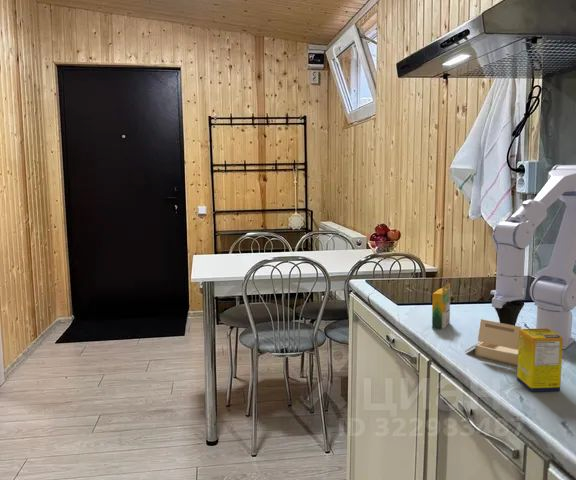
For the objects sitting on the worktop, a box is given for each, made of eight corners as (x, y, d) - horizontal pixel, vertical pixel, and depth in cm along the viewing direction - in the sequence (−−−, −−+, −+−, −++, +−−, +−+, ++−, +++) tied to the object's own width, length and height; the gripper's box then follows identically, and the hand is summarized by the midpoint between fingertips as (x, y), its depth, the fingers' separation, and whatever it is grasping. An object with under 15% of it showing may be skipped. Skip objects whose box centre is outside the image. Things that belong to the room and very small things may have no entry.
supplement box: (544, 379, 104) (547, 327, 102) (560, 391, 98) (564, 336, 96) (515, 379, 104) (518, 328, 102) (530, 392, 98) (533, 337, 96)
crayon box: (439, 321, 144) (440, 281, 143) (449, 322, 143) (451, 282, 141) (431, 328, 138) (432, 286, 137) (442, 329, 137) (443, 287, 135)
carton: (489, 338, 129) (490, 328, 129) (554, 352, 119) (554, 341, 118) (464, 353, 119) (464, 343, 118) (532, 370, 108) (533, 358, 108)
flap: (482, 319, 116) (480, 319, 116) (521, 326, 111) (519, 326, 110) (479, 341, 116) (477, 340, 116) (517, 349, 110) (516, 349, 110)
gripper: (504, 267, 123) (501, 321, 125) (479, 276, 113) (476, 335, 114) (535, 271, 118) (532, 327, 120) (511, 281, 108) (508, 342, 110)
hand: (507, 332), depth 117 cm, fingers closed
